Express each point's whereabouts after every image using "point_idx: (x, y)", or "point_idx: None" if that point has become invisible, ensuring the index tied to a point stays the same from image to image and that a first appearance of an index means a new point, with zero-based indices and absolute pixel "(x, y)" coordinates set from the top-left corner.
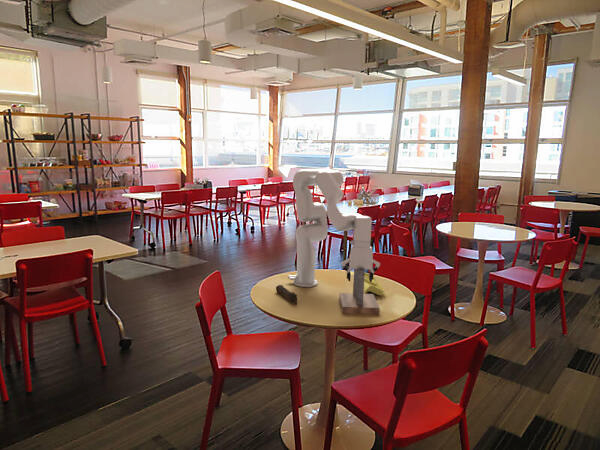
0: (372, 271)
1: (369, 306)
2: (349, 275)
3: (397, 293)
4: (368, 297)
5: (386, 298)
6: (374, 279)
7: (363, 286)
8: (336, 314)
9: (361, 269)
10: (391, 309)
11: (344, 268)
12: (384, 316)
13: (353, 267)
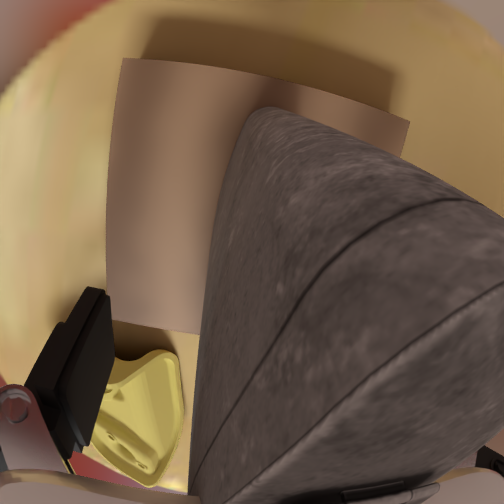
0: (22, 422)
1: (197, 86)
2: None
3: (10, 341)
4: (150, 269)
5: (49, 302)
6: (95, 441)
7: (270, 134)
8: (424, 112)
9: (377, 493)
10: (42, 146)
11: (500, 458)
12: (117, 30)
13: (483, 495)
